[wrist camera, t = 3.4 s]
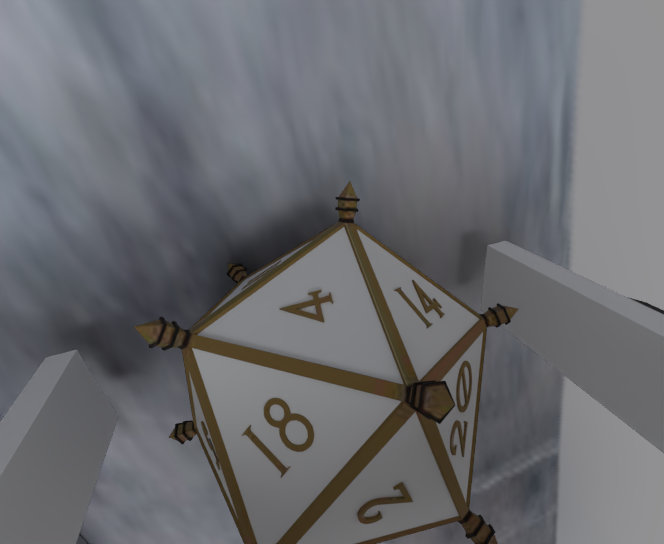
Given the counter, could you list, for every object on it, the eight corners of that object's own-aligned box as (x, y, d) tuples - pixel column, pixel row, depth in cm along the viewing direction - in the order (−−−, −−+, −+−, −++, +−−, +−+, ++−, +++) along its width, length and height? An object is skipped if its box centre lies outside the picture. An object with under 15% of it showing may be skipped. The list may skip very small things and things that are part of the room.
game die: (271, 222, 15) (354, -3, 5) (424, 330, 16) (716, 302, 6) (122, 417, 11) (-310, 704, 2) (325, 535, 13) (616, 1061, 3)
